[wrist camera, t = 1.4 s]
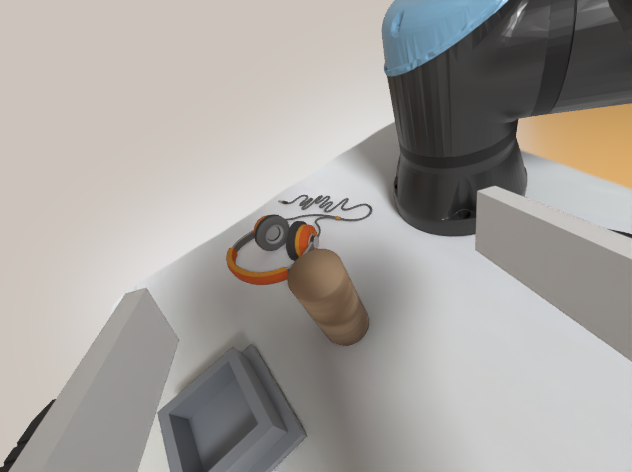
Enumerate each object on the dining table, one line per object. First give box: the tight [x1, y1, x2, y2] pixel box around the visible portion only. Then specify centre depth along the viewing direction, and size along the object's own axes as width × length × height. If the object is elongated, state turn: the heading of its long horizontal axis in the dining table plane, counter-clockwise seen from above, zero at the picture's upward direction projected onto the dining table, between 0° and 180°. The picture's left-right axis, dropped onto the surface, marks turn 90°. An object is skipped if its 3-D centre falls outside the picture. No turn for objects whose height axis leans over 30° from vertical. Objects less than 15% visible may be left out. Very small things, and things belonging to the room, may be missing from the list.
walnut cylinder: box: [288, 249, 369, 346], centre depth 29 cm, size 5×5×10 cm
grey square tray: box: [157, 345, 307, 472], centre depth 28 cm, size 11×11×4 cm
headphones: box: [226, 195, 372, 285], centre depth 41 cm, size 17×5×20 cm
